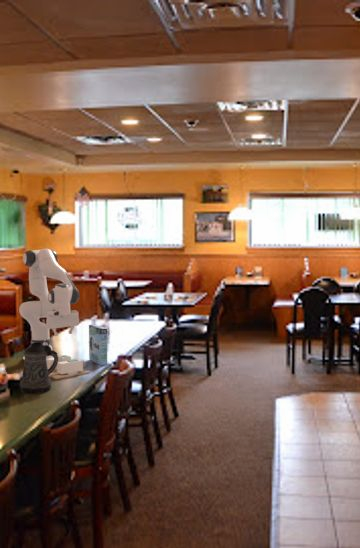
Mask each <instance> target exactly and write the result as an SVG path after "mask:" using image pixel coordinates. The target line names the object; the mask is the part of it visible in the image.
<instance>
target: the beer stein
mask: <svg viewBox="0 0 360 548" xmlns="http://www.w3.org/2000/svg"><path fill="white" fill-rule="evenodd" d="M23 355H24V356H23V357H25V360H24V363H23V369H22V375H21V381H20V383H19V388H20V392H21V393H22V394H30V395H32V394H43V393H47V392H49V391H51V389H52V381H51V379H50V378H51V377H49V375H50V374H51V373H52V372H53V370H54V369H55V368H56V366H57V364H58V356H59V355H58V353H57V352H56V351H55V350H53V349H52V350H51V348H50V347H49V346H48V345H42V343H32V344H31V343H30V346H29V347H27V348H26V349H24V351H23ZM46 356H53V357H54V362H53V364H52V366H51V367H50V368H49V369H48V368H47V361H46Z"/></svg>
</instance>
